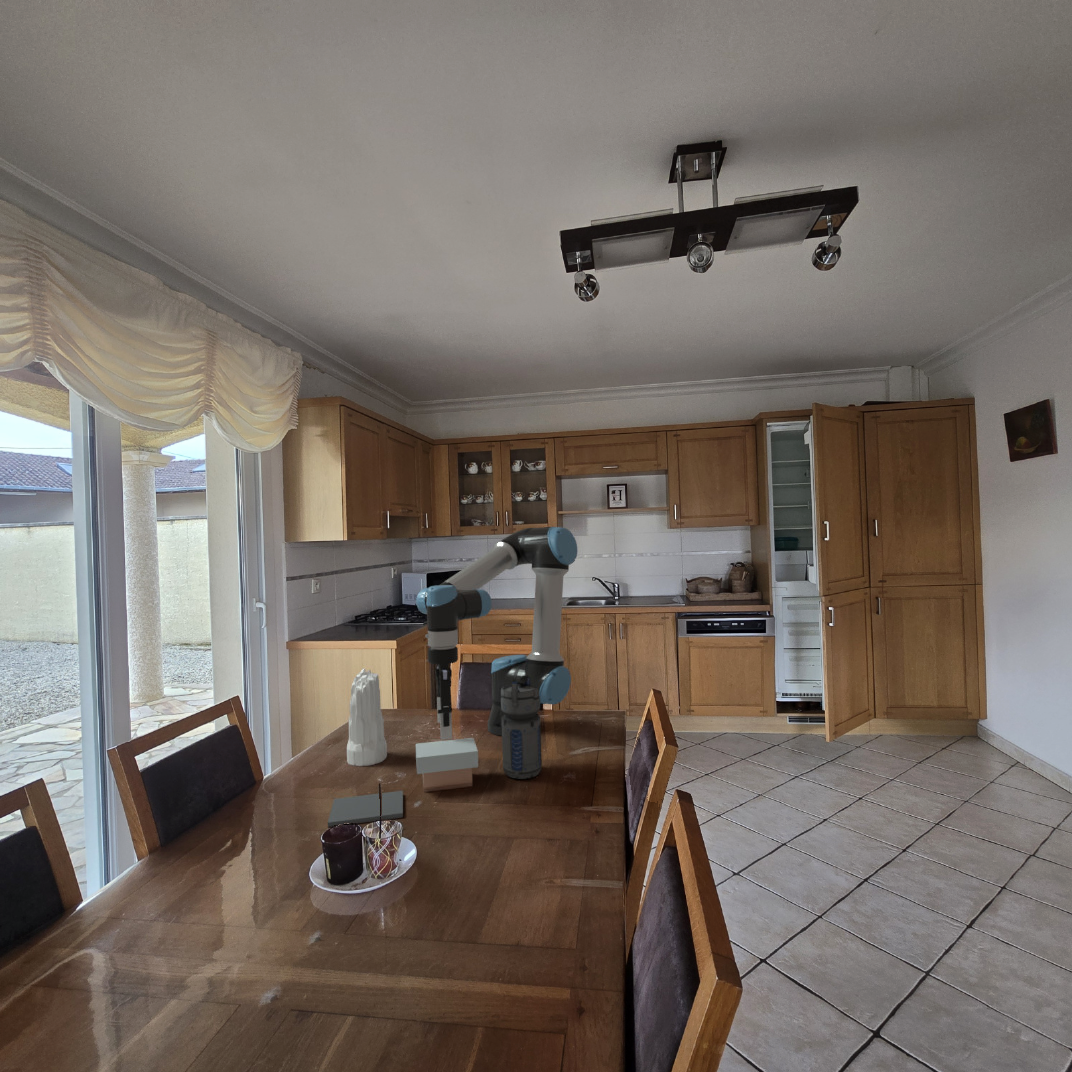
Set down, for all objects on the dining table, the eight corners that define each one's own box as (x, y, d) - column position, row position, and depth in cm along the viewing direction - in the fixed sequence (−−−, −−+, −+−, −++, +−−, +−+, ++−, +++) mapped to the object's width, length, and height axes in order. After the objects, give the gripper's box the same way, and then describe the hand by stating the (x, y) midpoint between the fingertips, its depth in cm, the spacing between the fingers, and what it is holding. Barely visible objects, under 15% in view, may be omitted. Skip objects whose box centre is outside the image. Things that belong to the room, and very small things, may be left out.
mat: (402, 794, 146) (402, 790, 146) (402, 817, 134) (402, 813, 134) (334, 803, 142) (334, 798, 142) (327, 827, 130) (327, 822, 130)
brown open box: (469, 773, 157) (468, 754, 157) (472, 786, 149) (471, 766, 149) (422, 779, 154) (422, 759, 154) (423, 792, 147) (423, 771, 147)
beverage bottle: (547, 763, 162) (545, 671, 162) (536, 783, 149) (532, 684, 149) (512, 760, 165) (509, 670, 165) (497, 780, 152) (494, 683, 152)
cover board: (473, 752, 158) (473, 737, 158) (478, 767, 149) (477, 751, 148) (416, 759, 155) (415, 743, 155) (416, 774, 145) (416, 757, 145)
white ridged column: (380, 765, 164) (377, 675, 164) (341, 766, 164) (338, 676, 164) (390, 751, 175) (388, 666, 175) (354, 752, 175) (351, 667, 175)
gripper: (426, 639, 163) (427, 717, 163) (429, 656, 139) (431, 748, 138) (453, 637, 164) (455, 714, 164) (462, 654, 140) (464, 745, 140)
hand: (444, 730), depth 151 cm, fingers open, 13 cm apart
